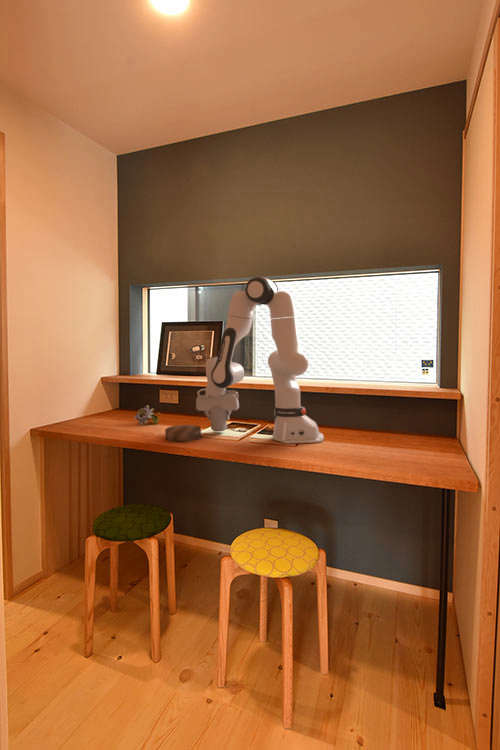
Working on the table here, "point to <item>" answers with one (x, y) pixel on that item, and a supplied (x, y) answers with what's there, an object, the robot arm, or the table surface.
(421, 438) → the table surface
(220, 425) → the can
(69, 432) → the table surface
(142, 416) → the passion flower
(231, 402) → the robot arm
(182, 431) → the plinth
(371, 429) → the table surface
